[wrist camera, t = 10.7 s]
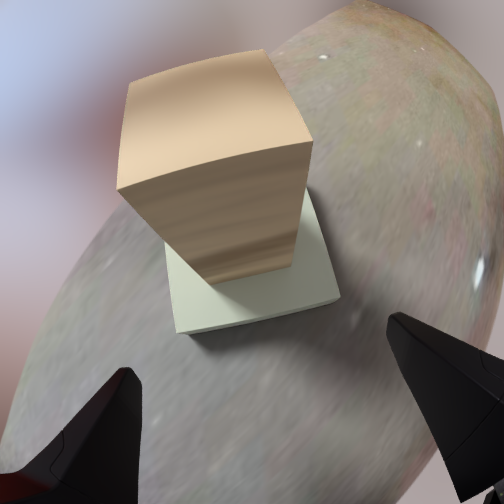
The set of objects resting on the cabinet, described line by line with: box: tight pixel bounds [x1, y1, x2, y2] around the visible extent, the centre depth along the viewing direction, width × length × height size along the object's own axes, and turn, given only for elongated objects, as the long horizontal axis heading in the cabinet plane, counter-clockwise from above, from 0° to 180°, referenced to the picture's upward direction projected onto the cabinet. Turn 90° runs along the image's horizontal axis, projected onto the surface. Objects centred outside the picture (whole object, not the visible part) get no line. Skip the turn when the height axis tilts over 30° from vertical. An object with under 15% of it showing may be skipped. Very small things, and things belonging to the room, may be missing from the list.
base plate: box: [165, 188, 341, 335], centre depth 20 cm, size 11×11×2 cm
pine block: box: [117, 49, 313, 285], centre depth 13 cm, size 6×6×12 cm
